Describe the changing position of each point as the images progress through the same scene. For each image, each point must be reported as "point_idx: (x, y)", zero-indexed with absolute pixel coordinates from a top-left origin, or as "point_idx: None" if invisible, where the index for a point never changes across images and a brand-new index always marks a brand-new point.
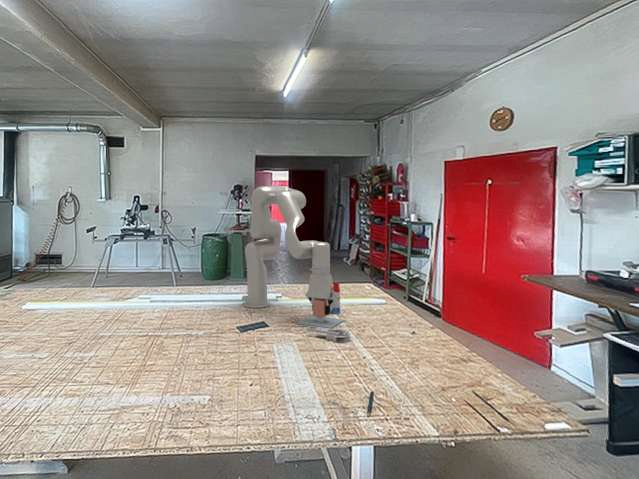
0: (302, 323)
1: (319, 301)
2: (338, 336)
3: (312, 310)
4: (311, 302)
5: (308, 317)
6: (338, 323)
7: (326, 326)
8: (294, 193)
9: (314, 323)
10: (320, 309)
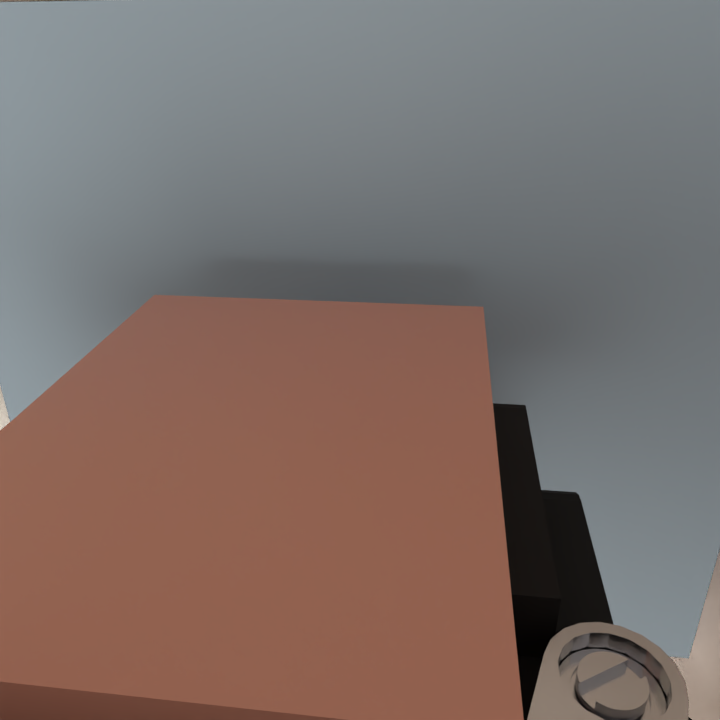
0: (678, 2)
1: (56, 631)
2: None
3: (567, 493)
4: (661, 702)
5: (709, 526)
6: (4, 383)
7: (22, 45)
8: None
9: (386, 153)
10: (172, 395)
